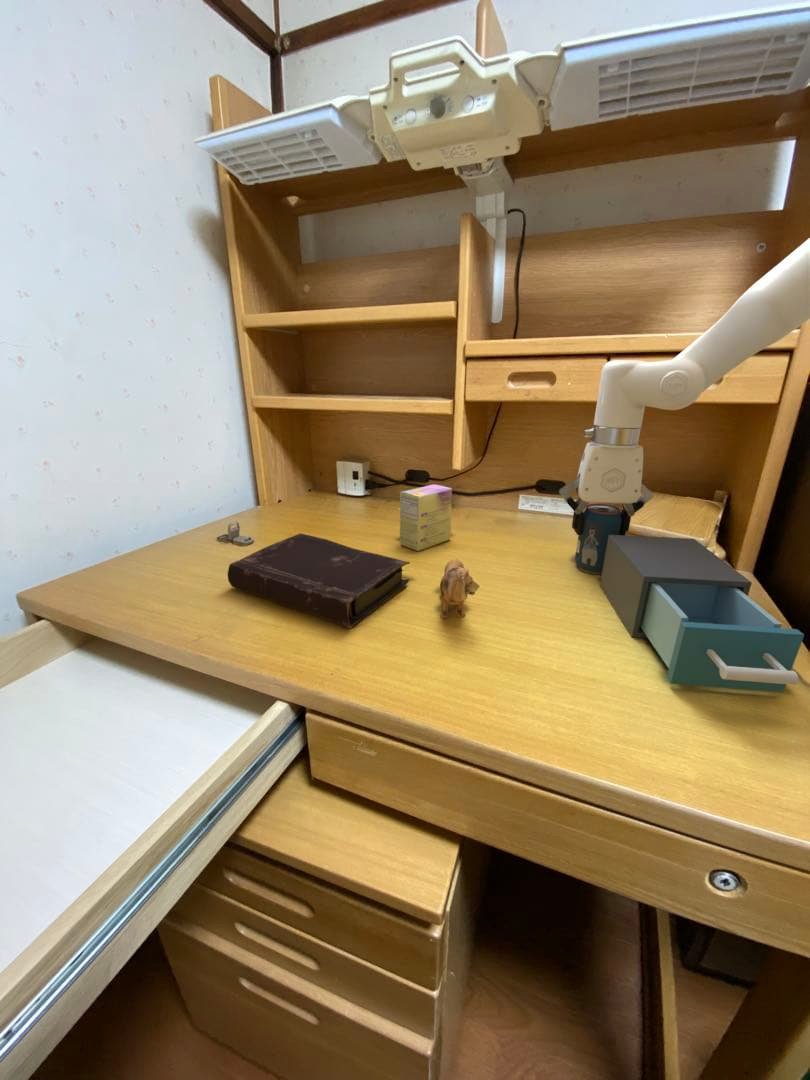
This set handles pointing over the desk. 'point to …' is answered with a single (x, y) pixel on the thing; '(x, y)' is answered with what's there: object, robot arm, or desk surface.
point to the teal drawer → (718, 638)
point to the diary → (320, 577)
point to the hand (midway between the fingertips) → (598, 532)
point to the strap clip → (235, 536)
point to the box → (425, 516)
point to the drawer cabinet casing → (658, 572)
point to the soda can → (596, 536)
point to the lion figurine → (456, 587)
